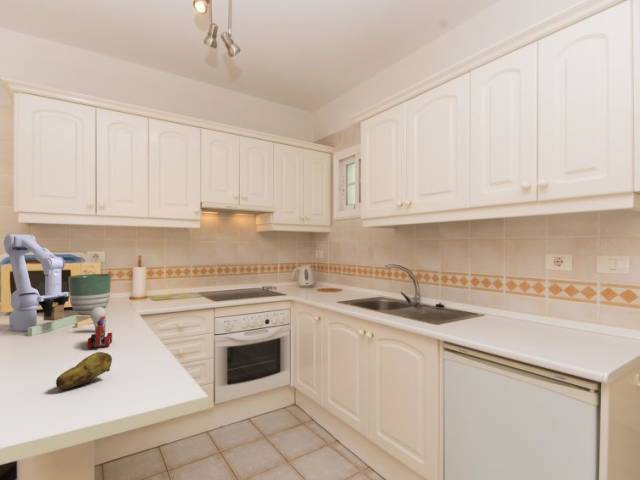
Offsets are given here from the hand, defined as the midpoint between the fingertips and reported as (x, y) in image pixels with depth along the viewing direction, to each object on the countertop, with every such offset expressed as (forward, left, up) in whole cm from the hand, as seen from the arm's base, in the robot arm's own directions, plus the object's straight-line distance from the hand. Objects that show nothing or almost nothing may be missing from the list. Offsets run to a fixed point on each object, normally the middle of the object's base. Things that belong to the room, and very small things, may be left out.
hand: (53, 315), depth 152 cm
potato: (+56, -52, -8) cm, 77 cm away
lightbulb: (+20, +1, -8) cm, 22 cm away
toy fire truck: (+35, -18, -8) cm, 40 cm away
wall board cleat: (0, +5, -8) cm, 9 cm away
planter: (-11, +36, -8) cm, 38 cm away
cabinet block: (0, 0, -2) cm, 2 cm away
